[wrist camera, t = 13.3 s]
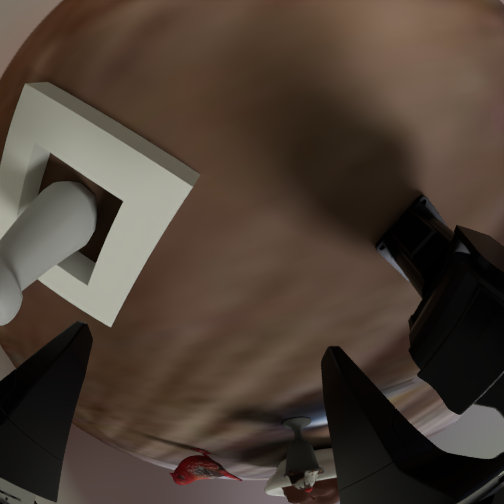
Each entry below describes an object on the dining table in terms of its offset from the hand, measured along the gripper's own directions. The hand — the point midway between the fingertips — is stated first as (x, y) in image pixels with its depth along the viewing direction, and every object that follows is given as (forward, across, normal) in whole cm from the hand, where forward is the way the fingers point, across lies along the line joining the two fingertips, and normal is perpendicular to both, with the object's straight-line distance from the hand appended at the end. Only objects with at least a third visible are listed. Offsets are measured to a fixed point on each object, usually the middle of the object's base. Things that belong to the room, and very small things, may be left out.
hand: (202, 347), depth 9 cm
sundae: (+13, -14, +36) cm, 41 cm away
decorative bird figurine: (+13, +1, +55) cm, 57 cm away
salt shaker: (+13, +13, +1) cm, 18 cm away
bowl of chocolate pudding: (+13, -24, +58) cm, 64 cm away
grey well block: (+13, +13, 0) cm, 18 cm away
